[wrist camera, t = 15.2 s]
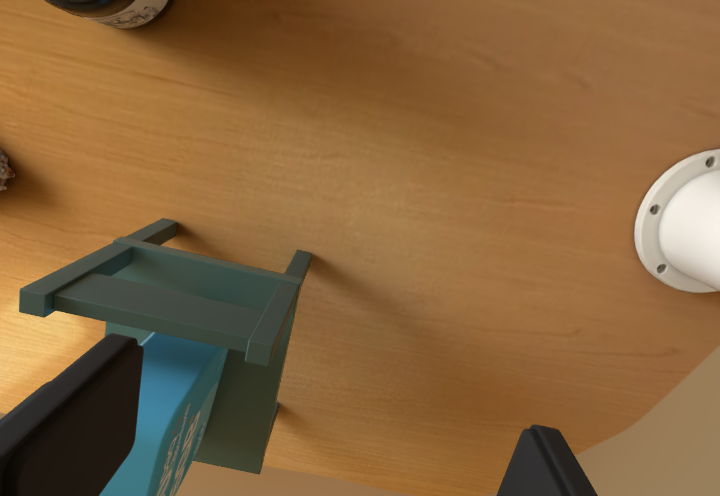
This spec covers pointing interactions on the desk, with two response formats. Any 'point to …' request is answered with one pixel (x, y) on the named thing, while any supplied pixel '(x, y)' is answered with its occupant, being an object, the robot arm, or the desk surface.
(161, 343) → the light blue rounded block
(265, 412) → the chair
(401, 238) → the desk surface
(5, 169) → the mineral rock
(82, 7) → the ink bottle
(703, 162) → the robot arm
